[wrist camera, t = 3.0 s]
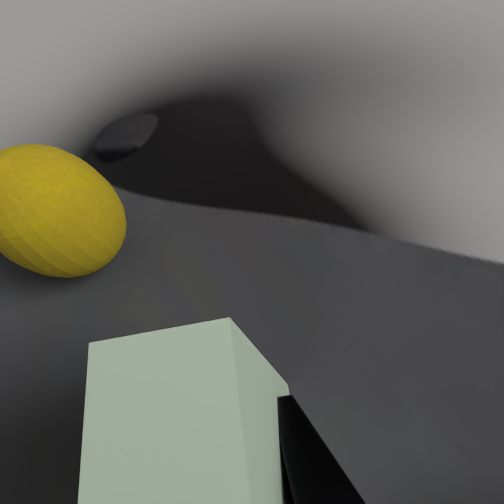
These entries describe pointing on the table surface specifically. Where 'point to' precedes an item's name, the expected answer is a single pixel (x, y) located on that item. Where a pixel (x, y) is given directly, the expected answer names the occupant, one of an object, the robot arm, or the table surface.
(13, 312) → the table surface
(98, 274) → the table surface
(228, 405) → the head tile
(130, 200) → the table surface
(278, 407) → the robot arm
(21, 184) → the lemon
